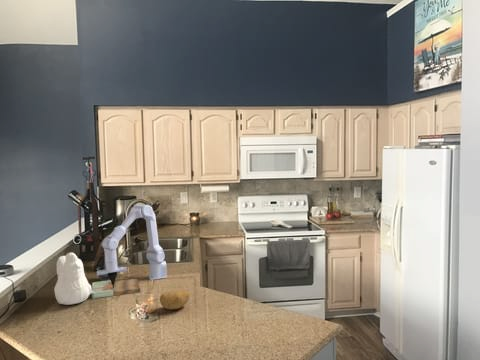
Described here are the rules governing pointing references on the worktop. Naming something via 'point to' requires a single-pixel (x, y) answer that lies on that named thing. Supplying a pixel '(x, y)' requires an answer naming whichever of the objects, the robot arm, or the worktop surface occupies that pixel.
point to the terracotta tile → (108, 286)
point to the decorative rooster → (71, 281)
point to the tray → (101, 293)
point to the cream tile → (98, 288)
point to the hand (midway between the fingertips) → (113, 286)
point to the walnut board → (126, 287)
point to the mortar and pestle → (104, 276)
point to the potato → (174, 299)
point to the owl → (99, 257)
